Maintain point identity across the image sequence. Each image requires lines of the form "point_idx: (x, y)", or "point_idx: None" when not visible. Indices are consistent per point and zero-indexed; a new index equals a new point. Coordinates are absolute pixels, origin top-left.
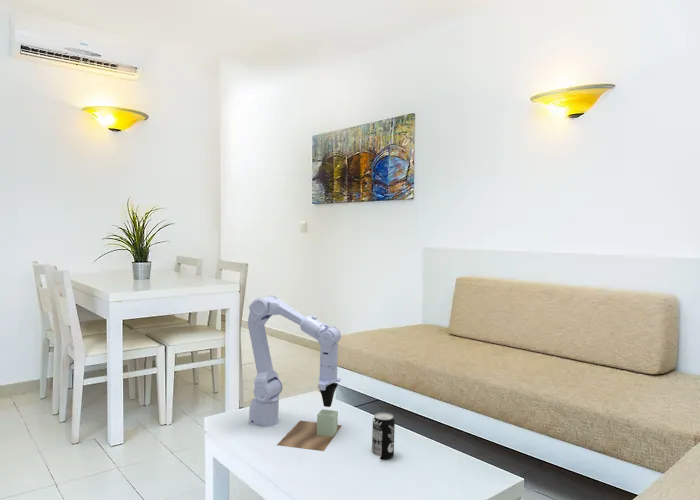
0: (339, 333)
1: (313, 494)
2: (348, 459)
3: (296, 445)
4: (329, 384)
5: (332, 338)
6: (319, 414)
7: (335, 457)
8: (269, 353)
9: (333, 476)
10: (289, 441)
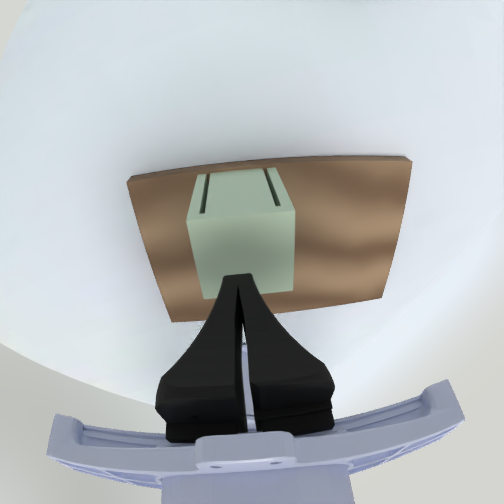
0: None
1: None
2: (416, 68)
3: (381, 255)
4: (395, 424)
5: None
6: (286, 283)
7: (413, 114)
8: None
9: (498, 107)
10: (355, 283)
